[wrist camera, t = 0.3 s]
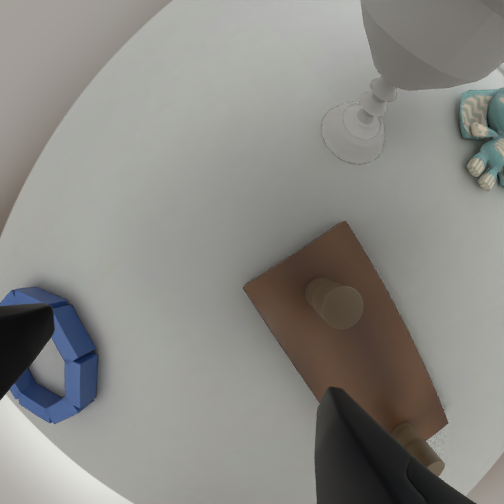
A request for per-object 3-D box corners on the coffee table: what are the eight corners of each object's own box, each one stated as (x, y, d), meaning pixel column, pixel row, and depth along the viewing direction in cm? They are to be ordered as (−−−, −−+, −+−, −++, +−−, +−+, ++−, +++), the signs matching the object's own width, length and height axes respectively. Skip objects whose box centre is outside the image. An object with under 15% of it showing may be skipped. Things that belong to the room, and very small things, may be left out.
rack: (367, 466, 20) (392, 520, 12) (244, 285, 21) (231, 301, 13) (441, 416, 20) (483, 455, 12) (340, 222, 20) (378, 204, 13)
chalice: (288, 124, 21) (321, -109, 3) (347, 80, 20) (422, -102, 3) (358, 196, 20) (558, 60, 2) (411, 144, 20) (568, 15, 2)
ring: (51, 421, 21) (36, 432, 18) (-3, 323, 22) (-21, 327, 19) (121, 386, 21) (105, 399, 18) (53, 266, 21) (32, 266, 19)
